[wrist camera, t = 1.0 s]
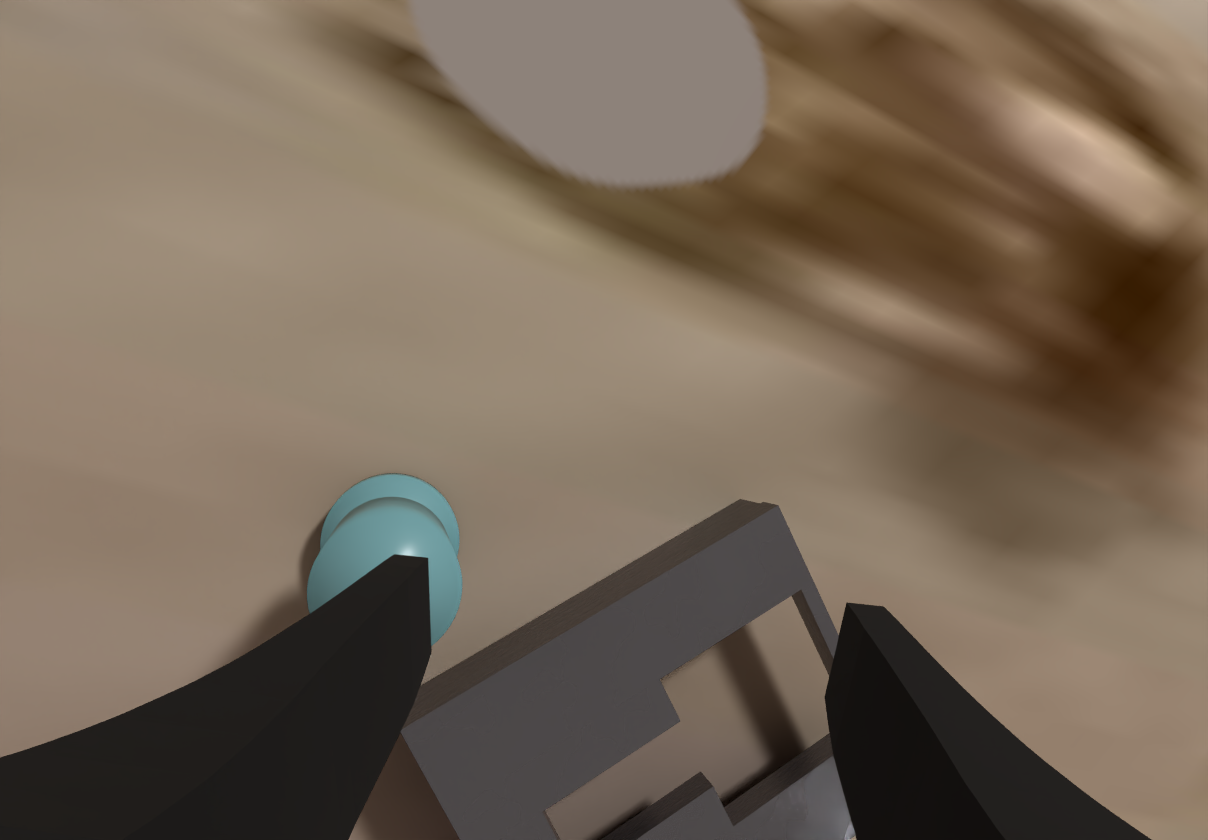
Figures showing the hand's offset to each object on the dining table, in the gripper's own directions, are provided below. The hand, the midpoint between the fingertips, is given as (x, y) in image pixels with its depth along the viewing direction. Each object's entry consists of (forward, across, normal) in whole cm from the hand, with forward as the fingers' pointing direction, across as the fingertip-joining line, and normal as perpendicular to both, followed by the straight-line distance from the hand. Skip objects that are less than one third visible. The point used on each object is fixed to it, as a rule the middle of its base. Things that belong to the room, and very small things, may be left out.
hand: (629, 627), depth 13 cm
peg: (+9, +8, +4) cm, 12 cm away
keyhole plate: (+9, -1, +11) cm, 14 cm away
